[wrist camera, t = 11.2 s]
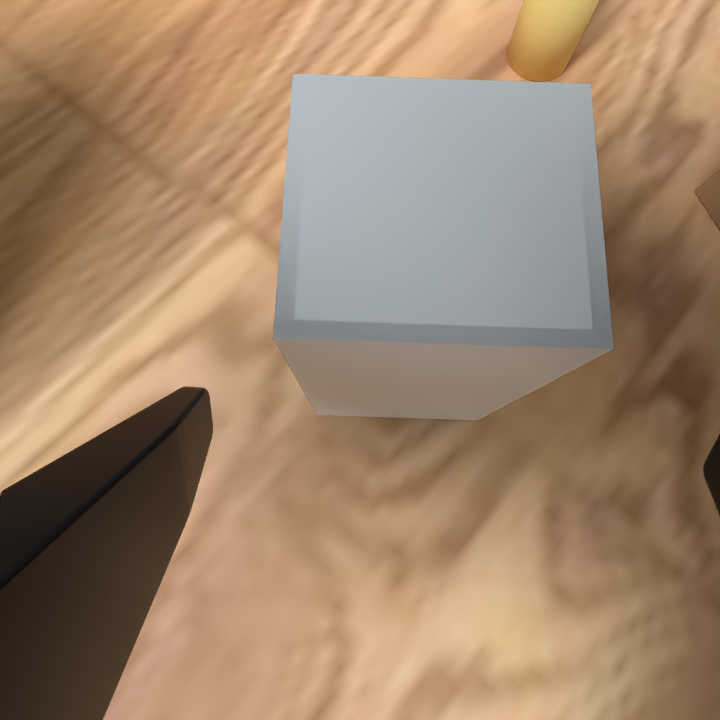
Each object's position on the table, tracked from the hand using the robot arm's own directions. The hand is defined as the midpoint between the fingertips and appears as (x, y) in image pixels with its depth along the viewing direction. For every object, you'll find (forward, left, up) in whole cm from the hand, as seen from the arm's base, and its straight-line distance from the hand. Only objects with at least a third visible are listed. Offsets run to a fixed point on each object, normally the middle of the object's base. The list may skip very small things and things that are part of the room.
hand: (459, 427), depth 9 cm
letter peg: (+12, -11, -7) cm, 18 cm away
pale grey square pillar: (+3, -1, -7) cm, 8 cm away
